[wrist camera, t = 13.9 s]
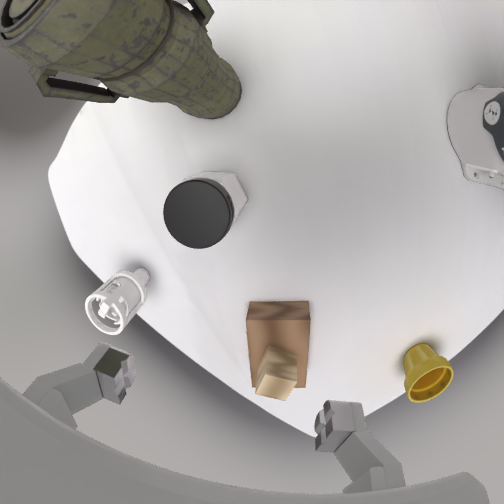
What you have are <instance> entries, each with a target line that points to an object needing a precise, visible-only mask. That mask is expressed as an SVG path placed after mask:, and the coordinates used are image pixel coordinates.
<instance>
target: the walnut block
mask: <svg viewBox="0 0 504 504" xmlns="http://www.w3.org/2000/svg"><path fill="white" fill-rule="evenodd" d="M246 328H247V339H248V349H249V360H250V370H251V380H252V387H255V388H256V384H257V376H258V368H259V364H260V361H261V359H262V357H263V355H264V353H265V350H266V348H267V346H268V345H271V346H275V347H279V348H283V349H286V350H290V351H294V352H296V353H297V383H296V385H295V386H294V388H305V386H306V375H307V363H308V350H309V335H310V312H309V304H308V301H283V302H250V304H249V308H248V313H247V317H246Z"/></svg>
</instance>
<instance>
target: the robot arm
mask: <svg viewBox="0 0 504 504" xmlns="http://www.w3.org/2000/svg"><path fill="white" fill-rule="evenodd" d="M447 125H448V132H449V136H450V140H451V143H452V145H453V148H454V150H455V152H456V153H457V155H458V157H459V159H460V161H461V164H462V169H463V173H464V176H465V178H466V179H467V180H471V181H475V182H479V183H483V184H487V185H490V186H494V187H498V188H501V189H504V88H486V87H485V86H484V85H483V84H477V85H476V86H475V87H474V88H473V89H472V90H468V91H462V92H460V93H458V94H457V95H455V97H454V98H453V99H452V101H451V103H450V106H449V109H448V115H447ZM474 173H475V176H474ZM133 362H134V355H133V354H131V353H128V352H126V351H124V350H121V349H119V348H116V347H114V346H111V345H109V344H107V343H104V342H101V343H100V344H99V345H98V346H97V347H96V348H95V350H94V351H93V352H92V353H91V354H90V356H89V357H88V358H87V359H86V360H85V362H84V363H83V364H81V363H79V364H76V365H73V366H70V367H67V368H64V369H61V370H58V371H55V372H51V373H48V374H45V375H42V376H39V377H37V378H36V379H35V381H34V382H33V383H32V384H31V385H30V386H29V387H28V389H27V390H26V391H25V392H24V393H23V395H22V394H21V393H19V392H18V391H17V390H15V389H14V388H13V387H11V386H10V385H9V384H8V383H7V382H5V381H4V380H3V379H2V378H1V377H0V504H489V499H488V495H487V491H486V489H485V487H484V485H483V484H482V483H481V482H479V481H478V480H477V479H476V478H475V477H473V476H472V475H471V474H469V473H468V472H462V473H458V474H455V475H452V476H448V477H445V478H441V479H437V480H433V481H429V482H425V483H420V484H415V485H411V486H406V484H405V480H404V474H403V470H402V466H401V463H400V462H399V461H398V460H397V459H396V458H395V457H394V456H393V455H392V454H391V453H390V452H389V451H388V450H387V449H386V448H385V447H384V446H383V445H382V444H381V443H380V442H379V441H378V440H377V439H376V438H375V436H374V435H373V434H372V433H371V432H367V427H366V423H365V418H364V413H363V408H362V404H361V403H356V402H345V401H332V400H327V401H326V402H325V403H324V405H323V407H324V409H323V410H321V411H319V413H318V414H317V416H316V420H315V432H316V433H317V434H318V436H317V437H316V438H315V449H316V451H320V452H334V455H335V456H336V458H337V459H338V461H339V462H340V464H341V465H342V467H343V468H344V470H345V471H346V473H347V474H348V476H349V477H350V479H351V480H352V481H353V482H352V483H351V484H350V485H348V486H347V487H346V488H344V489H343V493H341V494H340V493H339V494H305V493H286V492H274V491H265V490H257V489H249V488H243V487H237V486H232V485H226V484H221V483H217V482H212V481H208V480H203V479H199V478H195V477H192V476H188V475H184V474H180V473H178V472H174V471H171V470H168V469H165V468H162V467H158V466H156V465H153V464H150V463H148V462H145V461H142V460H140V459H137V458H134V457H132V456H129V455H127V454H125V453H122V452H120V451H117V450H115V449H113V448H111V447H109V446H107V445H105V444H102V443H100V442H98V441H96V440H94V439H92V438H90V437H89V436H87V435H85V434H83V433H81V432H79V431H77V430H76V428H77V424H76V422H75V420H74V418H73V416H72V415H73V414H75V413H77V412H79V411H80V410H82V409H84V408H86V407H88V406H90V405H92V404H94V403H96V402H97V401H99V400H101V399H103V398H105V399H108V400H110V401H112V402H115V403H117V404H121V402H122V400H123V399H124V397H125V395H126V388H129V387H130V386H131V385H132V383H133V381H134V378H135V367H134V365H133Z"/></svg>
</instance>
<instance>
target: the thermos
mask: <svg viewBox="0 0 504 504" xmlns="http://www.w3.org/2000/svg"><path fill="white" fill-rule="evenodd" d="M188 2H189V3H190V4H191V6H192V7H193V8H194V9H192V10H191V11H190V10H189V9H188V8H187V7H185V6H183V5H182V4H180V3H178V2H176V1H174V0H6V1H5V3H4V5H3V8H2V10H1V14H0V45H1V47H3V48H4V49H6V50H7V51H8V52H10V53H11V54H13V55H14V56H16V57H17V58H18V59H19V60H21V61H22V62H24V63H26V64H28V65H29V66H32V67H31V68H30V70H29V73H30V75H31V78H32V80H33V82H34V84H35V86H36V87H37V89H38V90H39V91H40V93H41V94H42V95H43V96H44V97H57V98H66V99H76V100H84V101H91V102H98V103H115V102H116V100H117V99H118V98H119V97H124V98H129V96H130V97H134V98H137V99H141V100H145V101H148V102H168V103H171V104H173V105H176V106H178V107H179V108H180V109H181V110H182V111H183V112H185V113H187V114H189V115H192V116H195V117H198V118H204V119H217V118H221V117H223V116H225V115H227V114H229V113H230V112H231V111H232V110H233V109H234V108H235V107H236V106H237V104H238V102H239V101H240V98H241V92H242V90H241V84H240V81H239V78H238V76H237V75H236V73H235V71H234V70H233V68H232V67H231V65H230V64H228V63H227V62H226V61H225V60H223V59H222V58H220V57H219V56H218V55H217V54H216V52H215V51H214V50H213V48H212V42H211V39H210V38H209V36H208V35H207V32H208V31H207V29H206V27H205V25H207V24H208V22H209V21H210V19H211V17H212V15H213V14H214V10H213V9H212V7H211V6H210V4H209V3H208V1H207V0H188ZM58 71H62V72H67V73H71V74H76V75H80V76H85V77H89V78H94V79H97V80H100V81H101V82H102V83H103V84H104V85H105V86H106V87H107V90H106V89H105V88H102V87H97V86H92V85H88V84H83V83H77V82H72V81H67V80H61V79H55V78H49V76H56V74H57V73H58Z"/></svg>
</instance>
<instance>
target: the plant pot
mask: <svg viewBox="0 0 504 504" xmlns="http://www.w3.org/2000/svg"><path fill="white" fill-rule="evenodd" d="M404 366H405V375H406V378H405V382H404V386H405V390H406V393H407V395H408V398H409V399H410V400H411V401H413V402H425V401H428V400H430V399H432V398H435V397H436V396H438V395H439V394H441V393H442V392H443V391H444V390H445V389H446V388H447V387H448V385H449V384H450V382H451V380H452V378H453V369H452V367H451V365H450V364H449V362H448V361H447V359H446V358H444V357H442V356H439V355H438V354H437V353H436V352H435V351H434V350H433V349H432V348H431V347H430V346H429V345H427V344H418V345H415V346H414V347H412V348H411V349H410V350H409V351H408V352H407V353H406V355H405V357H404Z"/></svg>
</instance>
